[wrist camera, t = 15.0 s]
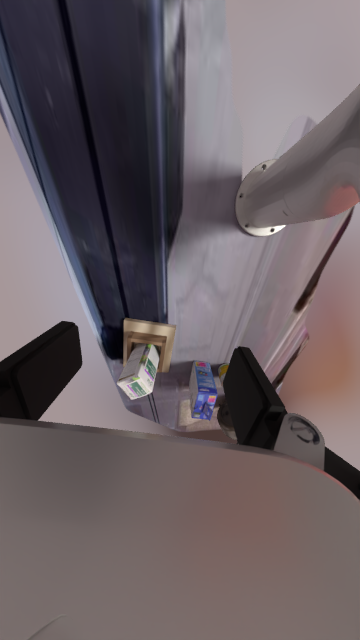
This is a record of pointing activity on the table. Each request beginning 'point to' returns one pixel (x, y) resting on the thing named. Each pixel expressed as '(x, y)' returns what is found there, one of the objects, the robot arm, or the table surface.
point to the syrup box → (140, 371)
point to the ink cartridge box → (202, 390)
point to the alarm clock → (226, 421)
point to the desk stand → (149, 339)
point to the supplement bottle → (222, 372)
